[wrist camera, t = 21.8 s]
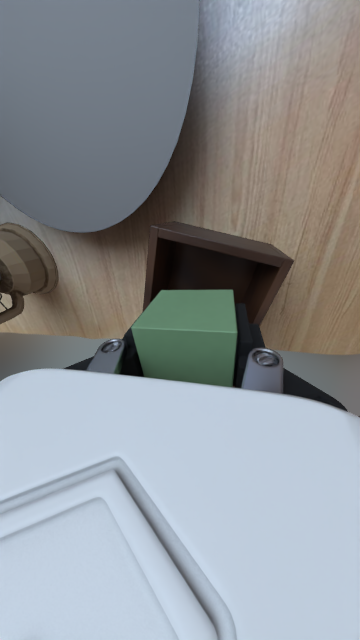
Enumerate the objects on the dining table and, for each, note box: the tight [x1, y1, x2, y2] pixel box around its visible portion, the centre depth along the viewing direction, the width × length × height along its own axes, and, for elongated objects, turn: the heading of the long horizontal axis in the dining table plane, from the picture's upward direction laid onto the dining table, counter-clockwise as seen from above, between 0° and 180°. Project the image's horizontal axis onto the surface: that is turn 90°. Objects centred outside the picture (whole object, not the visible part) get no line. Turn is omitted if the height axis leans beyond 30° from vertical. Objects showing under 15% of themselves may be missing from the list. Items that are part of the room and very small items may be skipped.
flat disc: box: [0, 0, 200, 233], centre depth 16 cm, size 28×28×4 cm
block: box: [131, 290, 238, 387], centre depth 10 cm, size 4×4×4 cm
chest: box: [143, 221, 294, 326], centre depth 23 cm, size 14×13×9 cm
